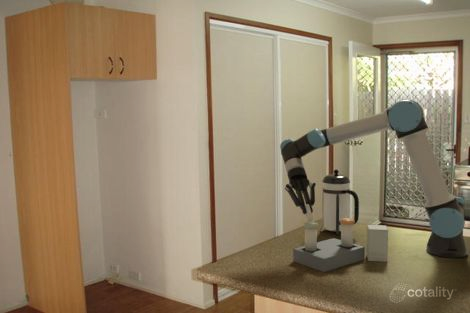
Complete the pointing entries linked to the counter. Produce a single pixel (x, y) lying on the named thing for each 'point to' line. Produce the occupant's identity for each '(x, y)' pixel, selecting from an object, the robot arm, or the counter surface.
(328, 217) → the coffee press
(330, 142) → the robot arm
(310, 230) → the green capped cylinder
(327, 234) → the counter surface
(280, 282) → the counter surface
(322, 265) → the console
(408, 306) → the counter surface
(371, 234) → the supplement box
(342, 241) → the orange capped cylinder
